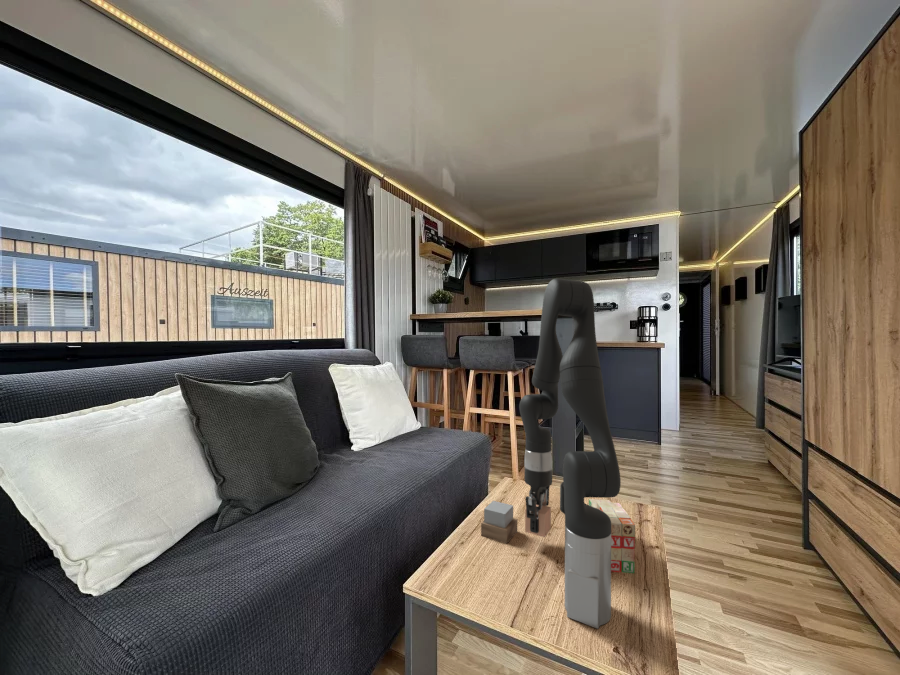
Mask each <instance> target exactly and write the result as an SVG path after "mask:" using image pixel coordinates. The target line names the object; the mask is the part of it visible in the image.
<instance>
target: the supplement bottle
mask: <svg viewBox="0 0 900 675" xmlns="http://www.w3.org/2000/svg"><path fill="white" fill-rule="evenodd" d="M559 510H560V511H561V513H563V515H565V510H564V482H563V481H562V482H561V483H560V486H559Z"/></svg>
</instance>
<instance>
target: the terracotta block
mask: <svg viewBox="0 0 900 675" xmlns="http://www.w3.org/2000/svg"><path fill="white" fill-rule="evenodd" d="M536 506H537V507H538V506H539V505H536ZM524 511H525V512H524V515H525V516H524V532H525V533H528V534H531V535H535V536H539V537H543V538H546V537H547V535H548V534H549V532H550V530H551V529H552V524H551V523H552V507H551V506H549V505H548V506H543V505H542V510H540V513H539V532H538V533H534V532H531V531H530V518H527V513H526V508H525V509H524ZM532 513H533V511H532ZM533 514H534V513H533Z"/></svg>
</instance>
